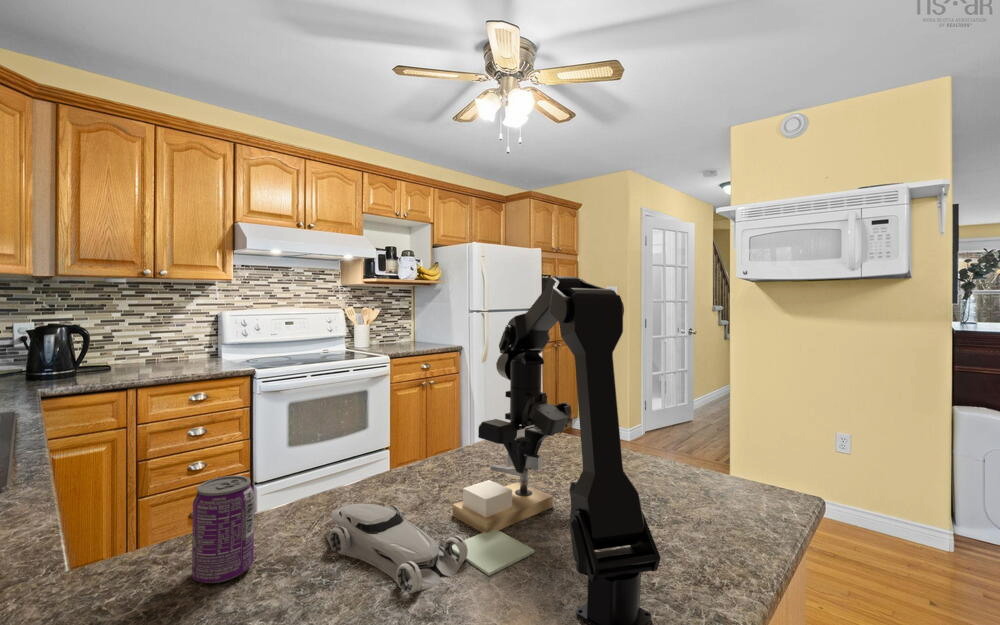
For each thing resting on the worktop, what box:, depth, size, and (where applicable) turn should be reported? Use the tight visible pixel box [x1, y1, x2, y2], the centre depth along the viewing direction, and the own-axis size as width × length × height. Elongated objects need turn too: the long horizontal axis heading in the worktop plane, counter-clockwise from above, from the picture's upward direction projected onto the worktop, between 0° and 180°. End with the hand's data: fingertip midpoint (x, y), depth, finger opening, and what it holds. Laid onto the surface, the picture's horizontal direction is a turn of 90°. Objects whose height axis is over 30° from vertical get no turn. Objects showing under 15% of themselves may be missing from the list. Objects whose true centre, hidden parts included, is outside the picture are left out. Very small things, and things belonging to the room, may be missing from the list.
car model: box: [326, 502, 468, 594], centre depth 69 cm, size 11×24×5 cm, turn 52°
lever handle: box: [490, 452, 542, 493], centre depth 86 cm, size 10×2×7 cm, turn 65°
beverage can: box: [191, 475, 255, 584], centre depth 62 cm, size 7×7×12 cm
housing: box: [452, 481, 554, 533], centre depth 82 cm, size 16×9×2 cm, turn 133°
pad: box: [452, 529, 535, 577], centre depth 69 cm, size 9×9×1 cm
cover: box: [462, 479, 512, 518], centre depth 79 cm, size 6×6×3 cm
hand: (524, 470), depth 85 cm, fingers closed on lever handle, 2 cm apart
